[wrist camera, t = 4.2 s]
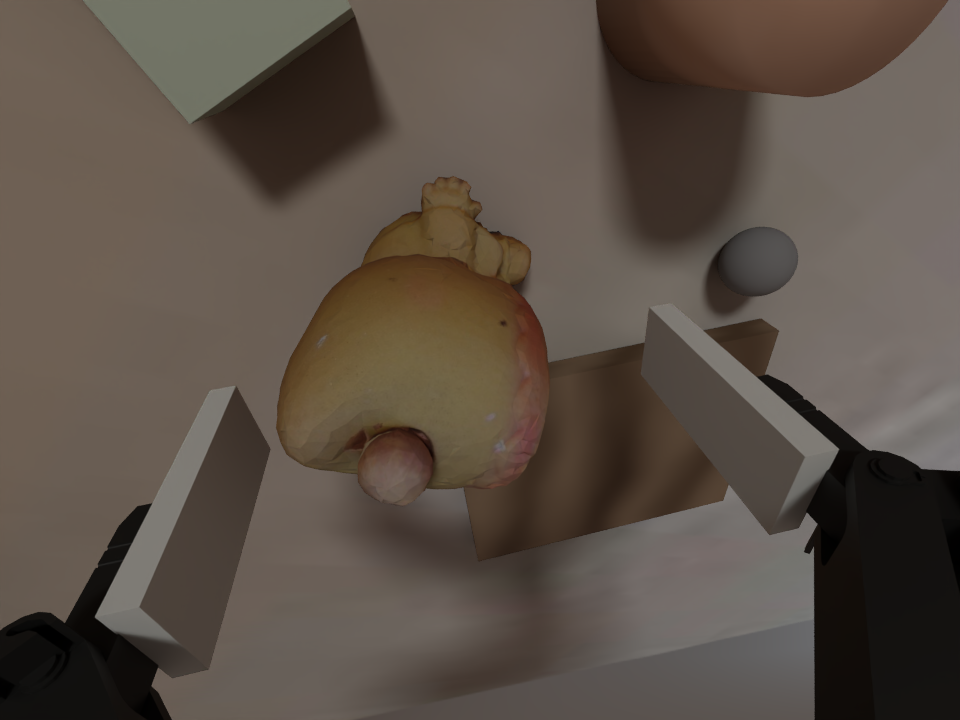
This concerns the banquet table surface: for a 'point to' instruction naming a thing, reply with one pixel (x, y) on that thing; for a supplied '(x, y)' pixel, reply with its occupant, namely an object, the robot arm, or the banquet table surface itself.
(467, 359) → the figurine
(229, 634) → the banquet table surface
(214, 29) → the block
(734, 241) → the ball
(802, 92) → the brown rounded cylinder
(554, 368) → the board
